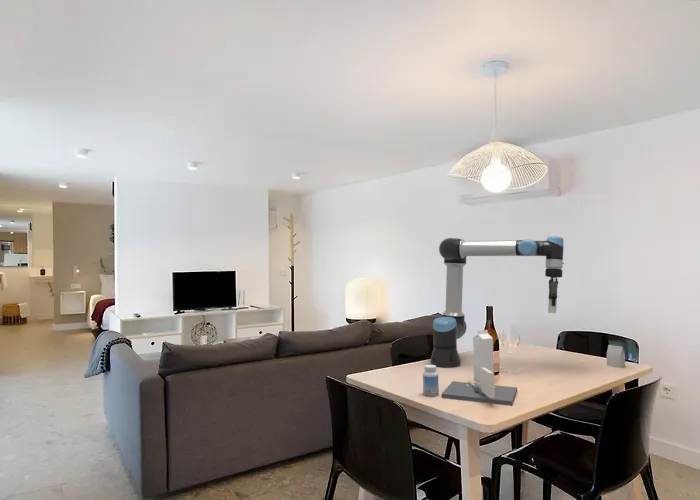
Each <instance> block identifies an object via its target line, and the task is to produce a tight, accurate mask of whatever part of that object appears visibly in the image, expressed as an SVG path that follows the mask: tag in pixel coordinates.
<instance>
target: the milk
mask: <svg viewBox="0 0 700 500" xmlns="http://www.w3.org/2000/svg"><path fill="white" fill-rule="evenodd" d="M493 339H494V338H493V337H492V336H491V335H490V334H489V330H488V329H484V330H483V329H482V330H478V331H477V335H474V337H472V341H473V342H472V343H473V347H472V348H473V380H474V381H476V382H481V368H486V369H488V370H490V371H491V372H493V373H494V340H493ZM494 374H495V373H494Z"/></svg>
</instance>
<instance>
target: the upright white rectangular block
mask: <svg viewBox="0 0 700 500" xmlns="http://www.w3.org/2000/svg"><path fill="white" fill-rule="evenodd" d="M493 372H494V371H493ZM493 372H491V371H490V370H488V369H486V368H481V382H480V381H476V382H472V381H470V380H468V381H467V383H470V384H471V385H472V386H474V391H475V392H480V393H481V394H486V395H487V396H488V397H489V398H495V388H494V385H495V373H493ZM473 383H474V384H473Z"/></svg>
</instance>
